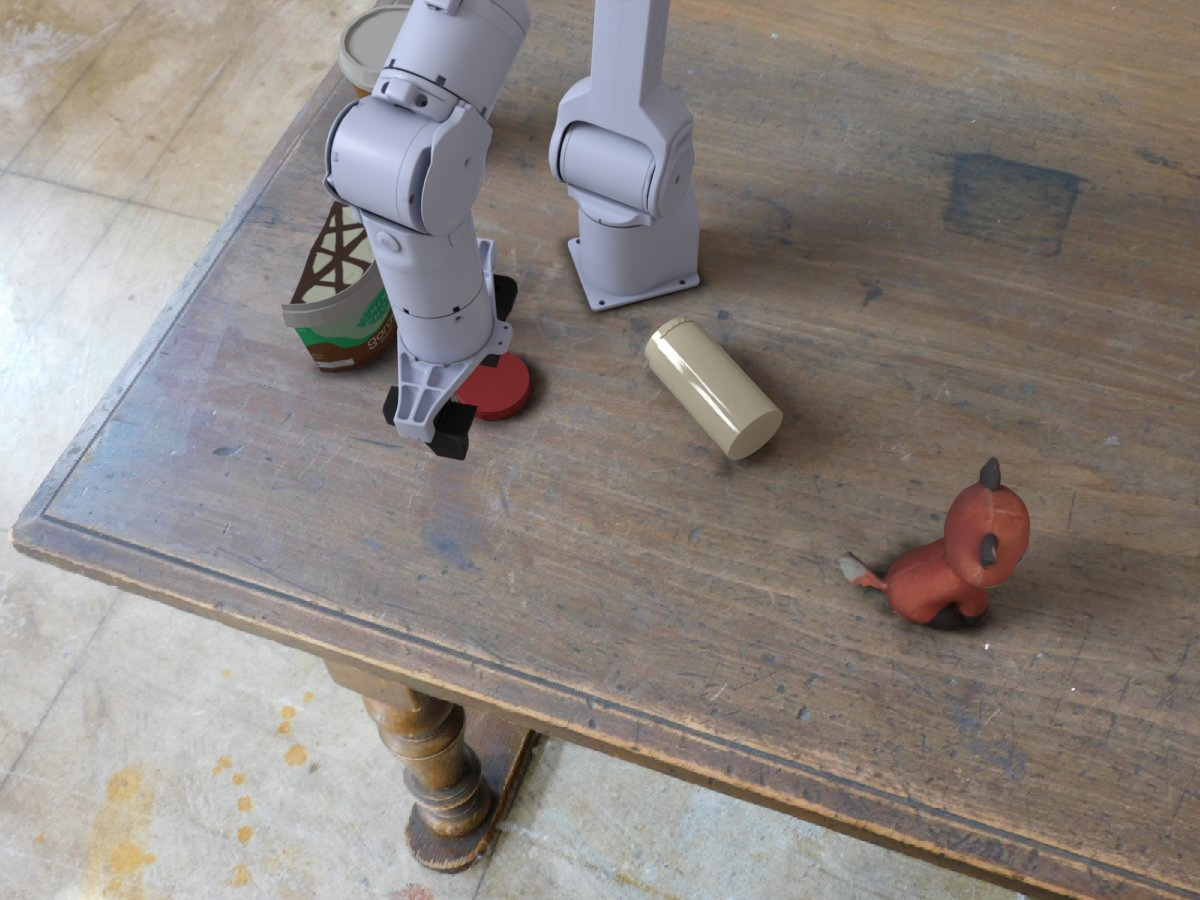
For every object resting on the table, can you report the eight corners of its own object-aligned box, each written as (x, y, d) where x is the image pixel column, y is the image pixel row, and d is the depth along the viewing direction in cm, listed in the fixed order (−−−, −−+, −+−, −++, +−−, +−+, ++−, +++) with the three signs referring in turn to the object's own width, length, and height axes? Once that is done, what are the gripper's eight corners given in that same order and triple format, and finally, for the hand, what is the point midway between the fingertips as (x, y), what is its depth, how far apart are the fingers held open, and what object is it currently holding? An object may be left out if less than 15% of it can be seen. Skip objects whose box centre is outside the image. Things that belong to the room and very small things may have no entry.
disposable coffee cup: (488, 132, 101) (470, 23, 90) (427, 197, 97) (400, 91, 86) (408, 96, 103) (381, -13, 93) (345, 158, 100) (310, 51, 89)
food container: (387, 398, 86) (358, 321, 77) (314, 386, 87) (278, 309, 78) (430, 278, 92) (407, 195, 83) (361, 269, 93) (332, 186, 84)
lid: (441, 389, 86) (438, 380, 85) (497, 345, 88) (495, 336, 87) (489, 434, 84) (487, 425, 83) (546, 389, 86) (545, 380, 85)
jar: (762, 407, 77) (670, 308, 81) (716, 459, 79) (629, 359, 83) (794, 412, 81) (705, 318, 86) (749, 461, 83) (665, 366, 88)
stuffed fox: (831, 532, 78) (859, 449, 68) (988, 538, 78) (1041, 455, 67) (836, 630, 75) (867, 557, 64) (1002, 637, 74) (1059, 565, 64)
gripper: (463, 394, 58) (494, 509, 70) (534, 198, 65) (551, 332, 77) (341, 371, 59) (391, 488, 71) (423, 181, 66) (457, 316, 78)
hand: (468, 406), depth 74 cm, fingers open, 7 cm apart
